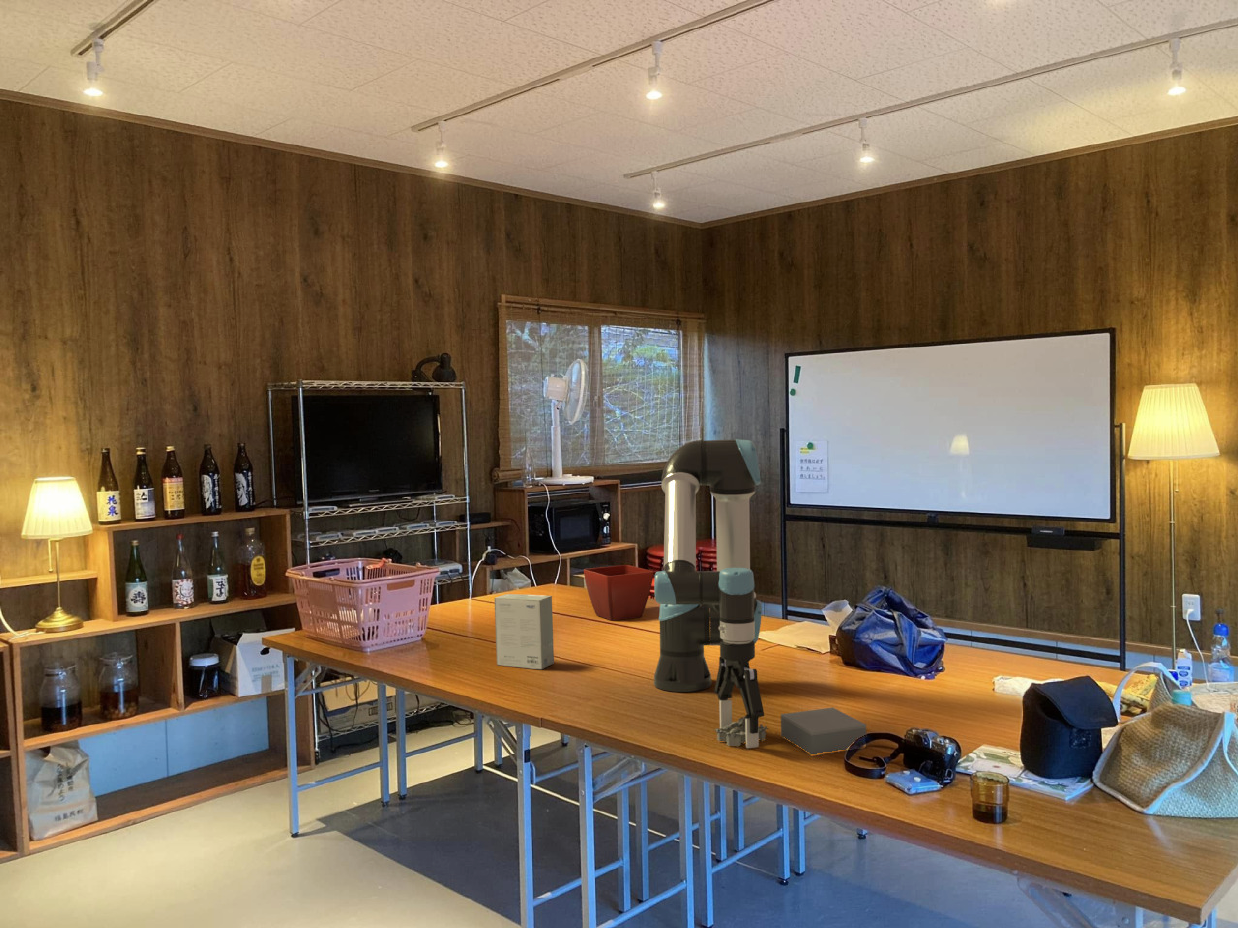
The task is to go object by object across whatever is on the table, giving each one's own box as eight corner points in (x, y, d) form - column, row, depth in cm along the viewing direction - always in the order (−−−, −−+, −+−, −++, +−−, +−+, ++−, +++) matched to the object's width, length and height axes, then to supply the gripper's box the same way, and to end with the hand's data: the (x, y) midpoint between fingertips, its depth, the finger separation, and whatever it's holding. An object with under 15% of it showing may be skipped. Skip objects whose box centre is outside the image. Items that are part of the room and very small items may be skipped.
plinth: (781, 736, 204) (780, 714, 204) (833, 729, 209) (832, 707, 208) (811, 756, 192) (811, 732, 192) (866, 748, 196) (866, 724, 196)
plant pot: (655, 617, 334) (654, 570, 333) (609, 624, 324) (608, 576, 324) (628, 609, 351) (627, 564, 350) (583, 615, 341) (582, 569, 340)
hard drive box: (555, 663, 272) (553, 595, 271) (542, 670, 265) (540, 600, 264) (509, 659, 278) (507, 592, 277) (495, 665, 271) (493, 597, 270)
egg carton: (751, 731, 209) (751, 713, 209) (772, 741, 202) (771, 722, 202) (711, 739, 204) (711, 721, 204) (731, 750, 197) (730, 731, 197)
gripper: (698, 630, 213) (700, 723, 214) (746, 654, 190) (748, 758, 191) (728, 627, 216) (730, 719, 217) (779, 650, 193) (781, 753, 193)
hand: (738, 737), depth 204 cm, fingers open, 12 cm apart
